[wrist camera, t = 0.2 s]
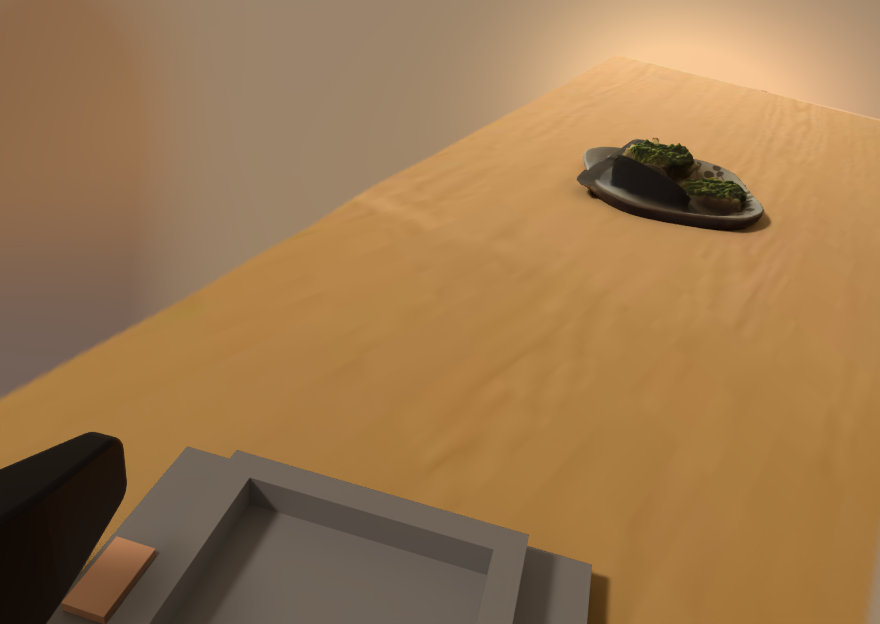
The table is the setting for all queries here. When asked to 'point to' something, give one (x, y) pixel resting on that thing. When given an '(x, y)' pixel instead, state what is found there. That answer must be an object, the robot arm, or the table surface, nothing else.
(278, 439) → the table surface
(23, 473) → the robot arm
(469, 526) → the grey recessed tray
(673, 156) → the salad plate
